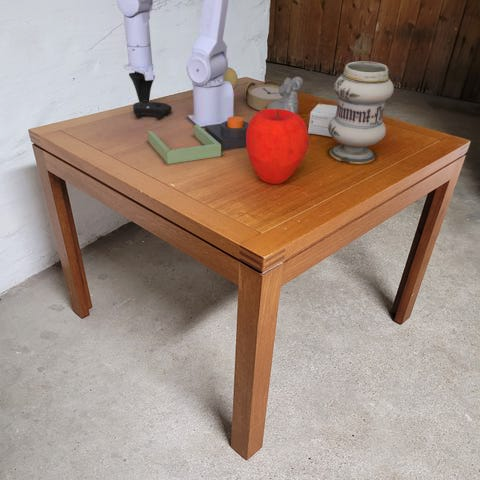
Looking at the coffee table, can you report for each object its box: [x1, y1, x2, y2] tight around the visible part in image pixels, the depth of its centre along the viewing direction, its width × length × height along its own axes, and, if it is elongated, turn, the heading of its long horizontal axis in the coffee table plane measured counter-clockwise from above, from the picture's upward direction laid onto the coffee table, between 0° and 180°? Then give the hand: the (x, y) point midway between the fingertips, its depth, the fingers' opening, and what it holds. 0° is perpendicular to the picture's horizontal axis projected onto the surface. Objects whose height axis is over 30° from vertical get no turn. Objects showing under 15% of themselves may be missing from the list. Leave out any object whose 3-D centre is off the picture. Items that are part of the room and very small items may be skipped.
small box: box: [307, 103, 337, 138], centre depth 121 cm, size 8×8×5 cm
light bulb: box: [223, 66, 239, 92], centre depth 132 cm, size 6×6×10 cm
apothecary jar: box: [328, 60, 394, 165], centre depth 106 cm, size 12×12×18 cm
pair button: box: [227, 115, 245, 128], centre depth 113 cm, size 4×4×2 cm
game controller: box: [132, 99, 172, 120], centre depth 128 cm, size 10×5×6 cm
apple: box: [245, 109, 310, 185], centre depth 96 cm, size 12×12×13 cm
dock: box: [147, 124, 222, 165], centre depth 111 cm, size 12×14×2 cm
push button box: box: [204, 121, 250, 151], centre depth 115 cm, size 10×9×4 cm
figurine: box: [267, 76, 304, 116], centre depth 123 cm, size 8×10×11 cm
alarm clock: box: [242, 80, 283, 111], centre depth 138 cm, size 11×5×15 cm
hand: (144, 103), depth 132 cm, fingers closed
